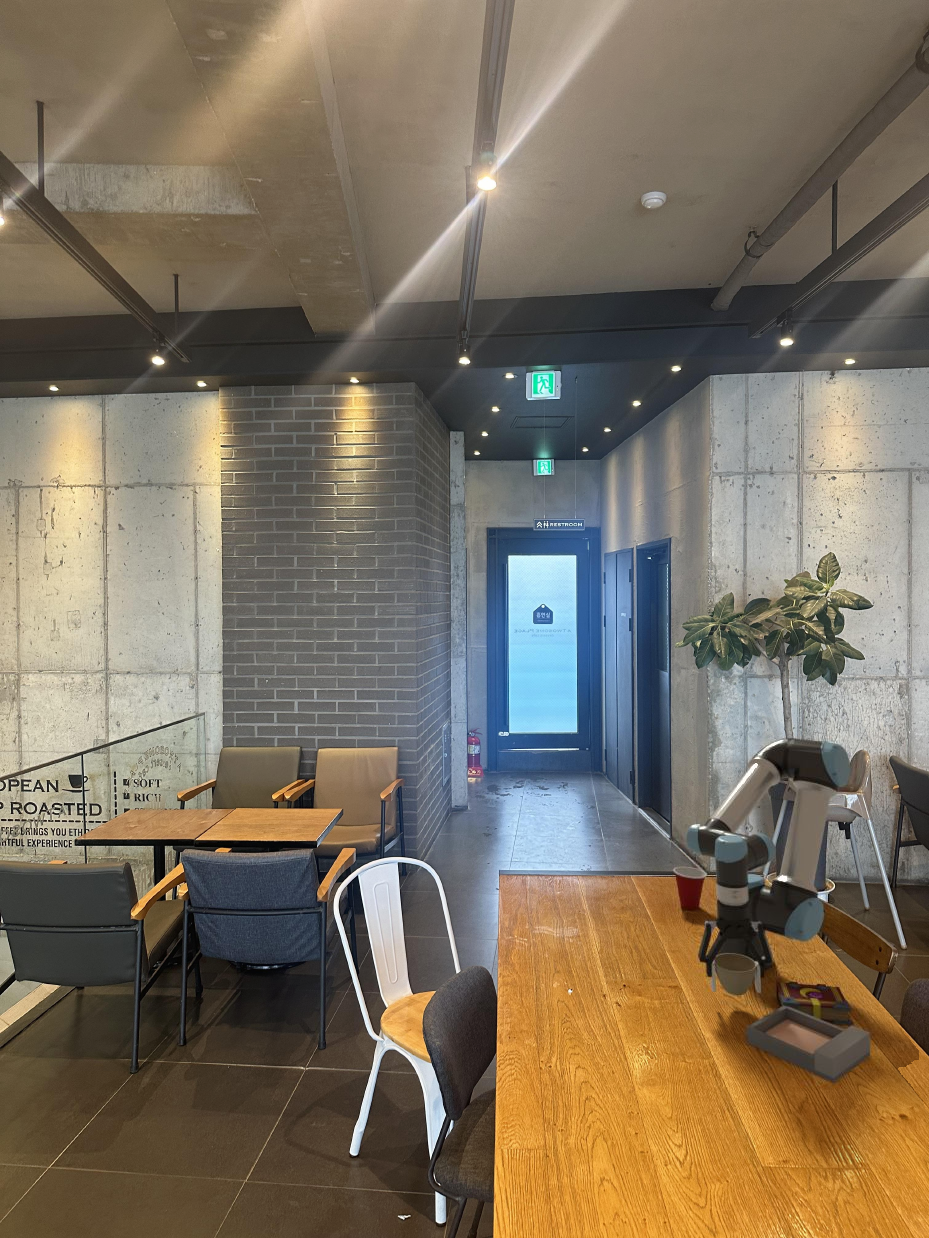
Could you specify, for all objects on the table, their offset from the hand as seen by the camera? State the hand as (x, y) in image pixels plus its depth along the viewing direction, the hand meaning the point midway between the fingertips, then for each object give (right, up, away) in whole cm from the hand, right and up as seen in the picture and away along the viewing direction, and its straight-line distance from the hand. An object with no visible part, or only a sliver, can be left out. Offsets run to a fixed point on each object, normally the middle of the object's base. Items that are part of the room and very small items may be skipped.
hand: (735, 989), depth 194 cm
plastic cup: (+8, -4, +67) cm, 68 cm away
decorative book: (+18, -4, -3) cm, 19 cm away
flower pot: (0, -1, 0) cm, 1 cm away
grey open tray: (+9, -4, -19) cm, 22 cm away
